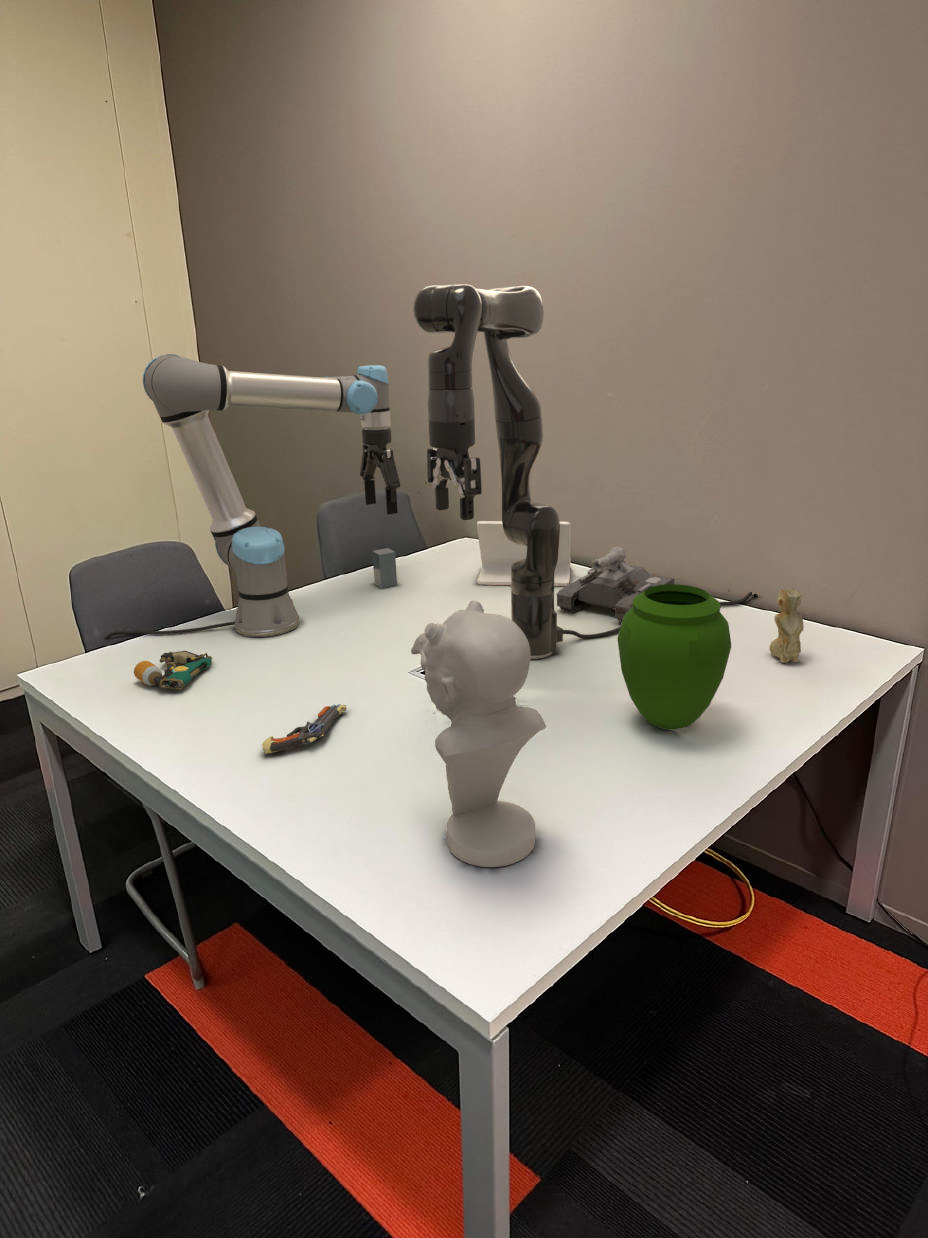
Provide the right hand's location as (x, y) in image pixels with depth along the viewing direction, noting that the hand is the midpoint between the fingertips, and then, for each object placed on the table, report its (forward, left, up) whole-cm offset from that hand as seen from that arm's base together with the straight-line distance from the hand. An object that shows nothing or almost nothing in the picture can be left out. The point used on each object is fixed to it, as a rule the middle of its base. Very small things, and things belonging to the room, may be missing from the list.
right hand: (454, 514), depth 144 cm
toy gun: (+28, -3, -39) cm, 48 cm away
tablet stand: (-34, -82, -39) cm, 97 cm away
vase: (-37, +9, -39) cm, 55 cm away
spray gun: (+54, -35, -39) cm, 76 cm away
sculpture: (-72, -11, -39) cm, 82 cm away
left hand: (+4, -85, -18) cm, 87 cm away
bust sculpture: (+6, +35, -39) cm, 53 cm away
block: (+4, -85, -39) cm, 93 cm away
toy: (-50, -52, -39) cm, 82 cm away
